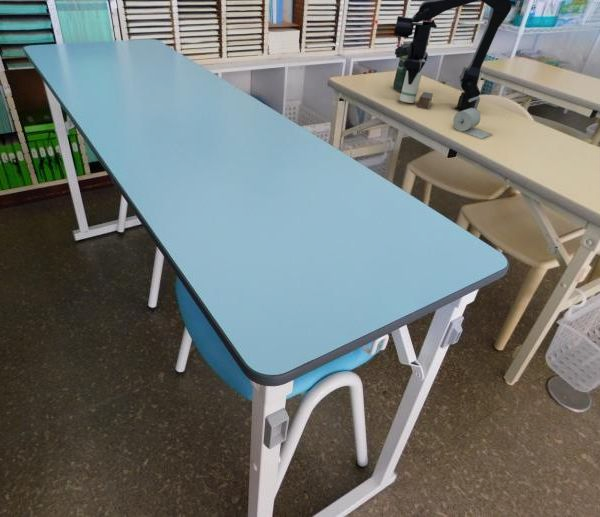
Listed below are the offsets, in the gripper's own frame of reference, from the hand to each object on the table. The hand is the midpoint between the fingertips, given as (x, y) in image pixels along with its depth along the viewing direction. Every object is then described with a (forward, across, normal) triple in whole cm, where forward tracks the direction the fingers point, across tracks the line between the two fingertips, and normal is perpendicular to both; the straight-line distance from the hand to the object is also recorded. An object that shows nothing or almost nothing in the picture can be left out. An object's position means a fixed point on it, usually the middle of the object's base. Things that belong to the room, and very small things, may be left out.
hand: (411, 82), depth 176 cm
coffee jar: (+8, -16, -5) cm, 19 cm away
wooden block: (+8, 0, +7) cm, 10 cm away
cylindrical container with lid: (+6, 0, +4) cm, 7 cm away
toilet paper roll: (+8, +20, +27) cm, 34 cm away
